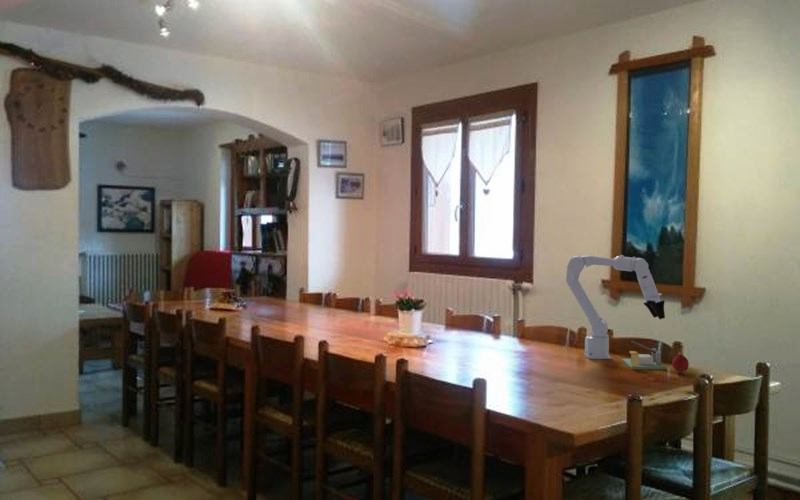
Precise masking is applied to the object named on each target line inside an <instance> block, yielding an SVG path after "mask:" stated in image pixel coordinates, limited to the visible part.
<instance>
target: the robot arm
mask: <svg viewBox="0 0 800 500" xmlns="http://www.w3.org/2000/svg"><path fill="white" fill-rule="evenodd" d="M595 265H597V266H606V267H607V266H608V267H613V269H615V270H617V271H625V272H633V271H634V272H635V274H636V278H637V281H638V285H639V287H640V290H641V293H642V295H643V297H644V298H643V299H644V302H643V305H644V306H646V308H647V309H648V311H649V312H650V314H651V316H652V317H653V318H657V317H658V319H659V320H662V319H663V320H664V319H665V318H666V316H665V315H666V313H665V300H663V299H662V300H661V296H662V295H663V294H662V293H661V292H660V293H659V291H658V288H657V287H656V284H655V281H654V278H653V275H652V273H651V271H650V269H649V263H648V262H647V260H645V258H642V257H636V256H632V257H630V256H624V255H623V254H620V255H617V256H616V257H614V258H610V257H603V256H595V255H577V254H576V255H574V256H572V257H570V259H569V262H568V264H567V266H566V278H565V280H566V285H568V287H569V289H570V291H571V292H572V294H573V295H574V297H575V299H576V301H577V302H578V304H579V306H580V307H581V309H582V311H583V312H584V314H585V316H586V318H587V319H588V321H589V324H590V325H591V326H590V327H591V332H592V333H590V336H589V335H587V336H585V338H584V356H585V357H586V358H587V359H588V360H592V359H593V360H596V359H597V360H601V359H602V360H611V359H612V357H611V356H610V355H609V354H610V353H609V343H610V342H609V340H610V339H609V338H610V335H609V334H608V331H609V328H608V323H607V321H606V320H605V319H603V318H602V317H601V316H600V314H599V312H598V311H597V309H596V308H595V306H594V304H593V302H592V301H591V300H590V298H589V296H588V294H587V293H586V290H585V289H584V288H583V286H582V284H581V282H580V281H579V278H580V274H581V273H582V271H583V269H584V268H585V267H586V268H588V267H591V266H595Z"/></svg>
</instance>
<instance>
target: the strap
mask: <svg viewBox="0 0 800 500" xmlns="http://www.w3.org/2000/svg"><path fill="white" fill-rule="evenodd" d="M630 343H632V344H634V345H635V346H638V347H639V348H642V349H643V350H647V351H649V352H653V353H655V354H656V352H657V350H656V351H654V350H652V349H653V348H650V347H647V346H645V345H643V344H640V343H638V342H636V341H635V340H630Z"/></svg>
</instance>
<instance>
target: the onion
mask: <svg viewBox="0 0 800 500" xmlns="http://www.w3.org/2000/svg"><path fill="white" fill-rule="evenodd" d="M689 364H690V363H689V360H688V359H687V357H686V356H684V354H683V353H681V352H680V351H679V352H678V354H677V355H676V356H674V358H673V359H672V362H671V365H672V368H673V369H674V371H676V372H677V374H683V373H685V372H686V371H687V370H688V369H689V366H690V365H689Z"/></svg>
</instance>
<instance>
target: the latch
mask: <svg viewBox="0 0 800 500" xmlns="http://www.w3.org/2000/svg"><path fill="white" fill-rule="evenodd" d="M629 354H630V359H631V366H632V367H639V355H638V354H639V353H638V352H637V351H636V350H635V351H633V350H629Z"/></svg>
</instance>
